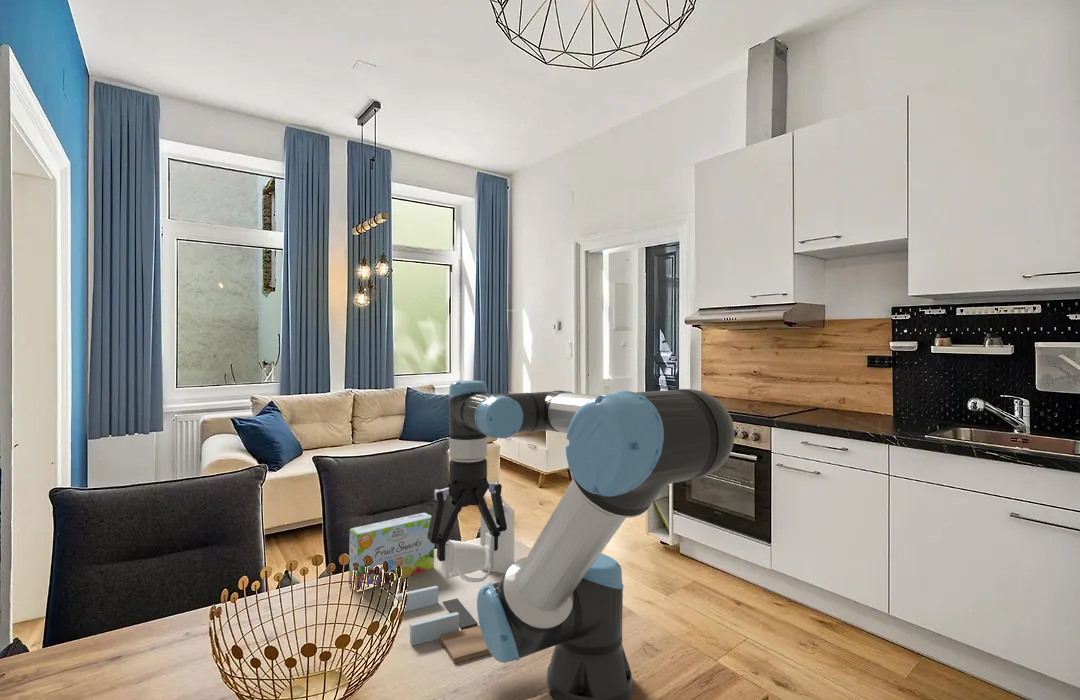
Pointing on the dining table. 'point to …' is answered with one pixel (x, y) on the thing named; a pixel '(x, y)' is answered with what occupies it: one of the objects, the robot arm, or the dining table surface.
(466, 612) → the mat
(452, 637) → the trivet
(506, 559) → the milk carton
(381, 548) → the snack box
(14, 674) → the dining table surface
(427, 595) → the channel
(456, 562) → the cup
